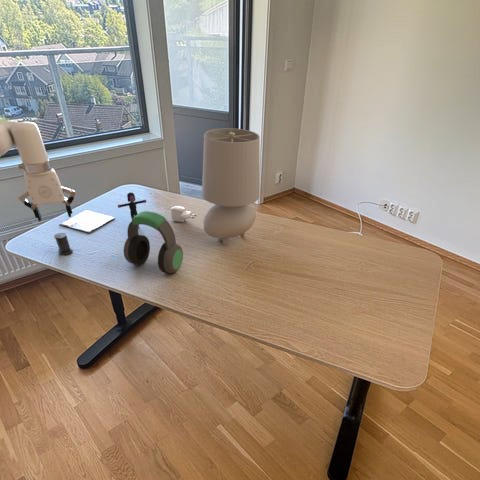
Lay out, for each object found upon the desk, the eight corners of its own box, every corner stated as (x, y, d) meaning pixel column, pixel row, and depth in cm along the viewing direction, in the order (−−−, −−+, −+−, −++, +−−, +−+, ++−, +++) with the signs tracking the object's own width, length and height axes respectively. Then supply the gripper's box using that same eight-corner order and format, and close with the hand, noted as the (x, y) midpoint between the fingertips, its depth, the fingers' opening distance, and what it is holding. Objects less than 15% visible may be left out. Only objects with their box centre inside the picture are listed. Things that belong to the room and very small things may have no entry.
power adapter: (198, 221, 154) (197, 209, 150) (193, 226, 151) (192, 213, 147) (175, 217, 157) (174, 204, 153) (170, 221, 153) (169, 208, 149)
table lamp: (239, 223, 154) (244, 123, 128) (268, 244, 141) (279, 137, 114) (193, 235, 144) (188, 128, 118) (219, 259, 131) (219, 145, 105)
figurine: (124, 232, 144) (117, 197, 134) (121, 228, 146) (113, 193, 136) (151, 226, 149) (146, 191, 139) (148, 222, 151) (143, 188, 141)
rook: (59, 256, 128) (53, 239, 123) (59, 250, 131) (53, 233, 127) (72, 254, 129) (67, 237, 125) (72, 248, 133) (67, 231, 128)
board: (89, 233, 142) (88, 232, 141) (59, 225, 146) (59, 223, 146) (114, 218, 153) (114, 217, 152) (86, 211, 157) (86, 209, 157)
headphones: (185, 265, 127) (182, 213, 114) (171, 280, 119) (165, 227, 106) (141, 254, 131) (132, 203, 118) (124, 268, 124) (113, 215, 110)
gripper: (5, 173, 105) (27, 225, 116) (67, 168, 110) (81, 218, 121) (8, 165, 110) (28, 216, 121) (66, 160, 115) (81, 210, 126)
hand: (55, 217), depth 121 cm, fingers open, 9 cm apart
